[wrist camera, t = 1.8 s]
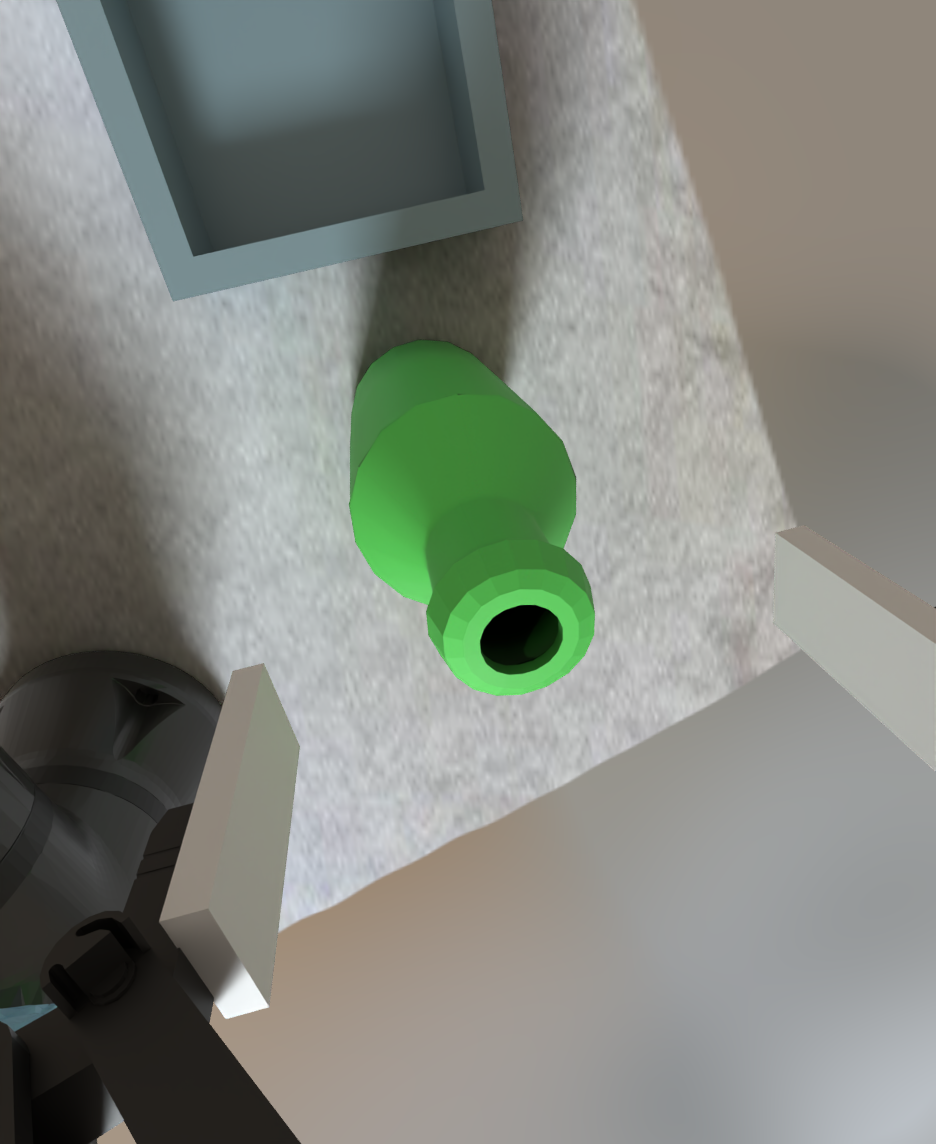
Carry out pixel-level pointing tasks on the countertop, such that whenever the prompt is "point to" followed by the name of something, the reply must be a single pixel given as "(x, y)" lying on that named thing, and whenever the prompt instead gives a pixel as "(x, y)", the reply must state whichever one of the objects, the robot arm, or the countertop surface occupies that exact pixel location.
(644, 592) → the countertop surface
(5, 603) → the countertop surface
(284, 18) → the bin
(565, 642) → the bottle
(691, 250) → the countertop surface
